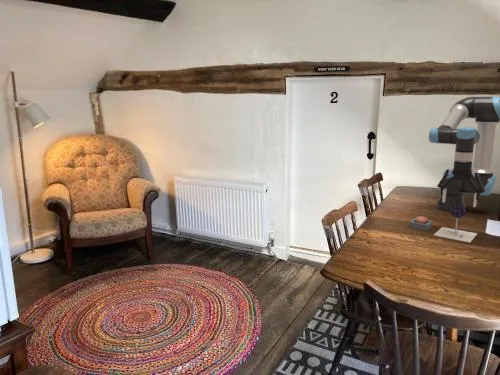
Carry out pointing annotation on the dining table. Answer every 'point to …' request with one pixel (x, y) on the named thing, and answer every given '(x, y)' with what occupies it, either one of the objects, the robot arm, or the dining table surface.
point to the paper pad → (458, 236)
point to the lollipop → (457, 213)
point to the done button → (421, 219)
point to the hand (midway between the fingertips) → (458, 204)
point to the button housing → (420, 225)
